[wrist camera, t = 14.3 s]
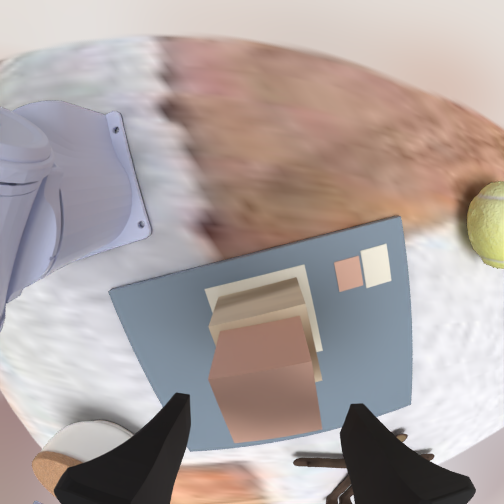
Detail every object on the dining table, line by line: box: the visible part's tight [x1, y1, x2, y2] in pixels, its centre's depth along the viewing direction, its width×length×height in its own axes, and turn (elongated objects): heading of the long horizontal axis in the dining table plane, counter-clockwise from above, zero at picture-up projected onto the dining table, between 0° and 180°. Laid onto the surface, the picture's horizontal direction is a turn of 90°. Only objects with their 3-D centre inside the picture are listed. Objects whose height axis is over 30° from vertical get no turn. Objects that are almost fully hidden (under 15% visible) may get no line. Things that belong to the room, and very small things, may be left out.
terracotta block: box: [208, 316, 322, 443], centre depth 15 cm, size 4×4×4 cm
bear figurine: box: [293, 434, 434, 504], centre depth 26 cm, size 18×4×14 cm
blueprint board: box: [108, 215, 412, 452], centre depth 23 cm, size 18×22×1 cm
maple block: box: [208, 277, 322, 382], centre depth 19 cm, size 6×6×4 cm
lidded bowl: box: [32, 420, 134, 498], centre depth 21 cm, size 13×13×11 cm
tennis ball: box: [467, 181, 504, 269], centre depth 17 cm, size 6×7×7 cm
